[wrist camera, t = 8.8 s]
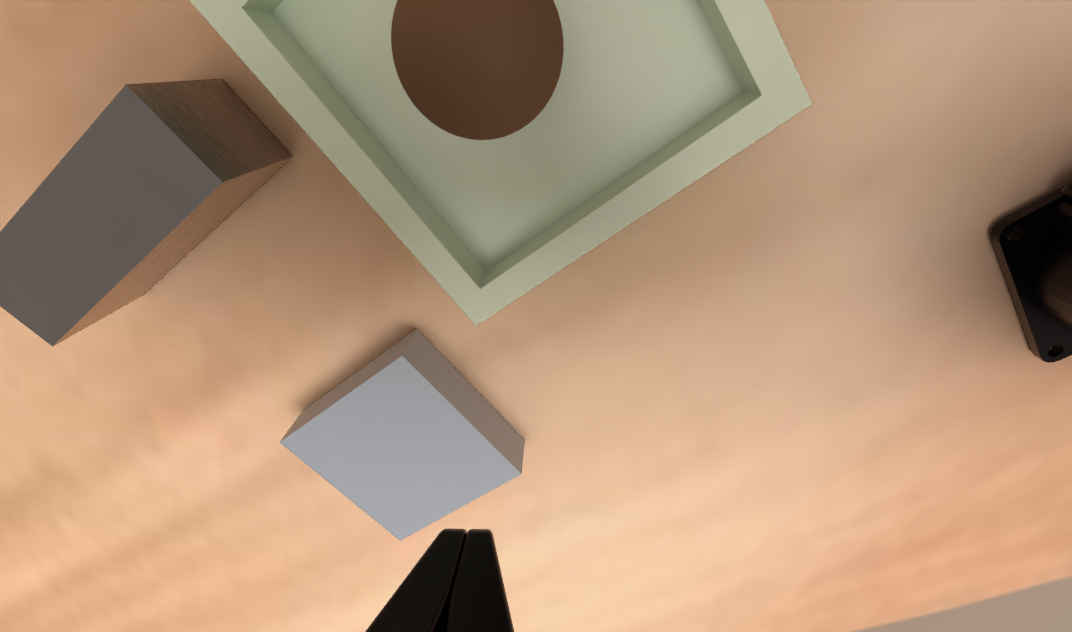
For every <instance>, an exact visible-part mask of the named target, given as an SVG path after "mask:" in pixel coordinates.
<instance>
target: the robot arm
mask: <svg viewBox="0 0 1072 632" xmlns="http://www.w3.org/2000/svg"><path fill="white" fill-rule="evenodd" d="M1014 228H1015V230H1014V232H1013V234H1012V235H1010V236H1009V237H1007V235H1008V234H1009V232H1010V231H1011V230H1012V229H1014ZM990 238H991V242H992V244H993V247H994V250H995V253H996V255H997V258H998V261H999V263H1000V266H1001V269H1002V272H1003V274H1004V277H1005V280H1006V283H1007V285H1008V288H1009V291H1010V294H1011V296H1012V299H1013V302H1014V305H1015V307H1016V310H1017V313H1018V316H1019V318H1020V321H1021V324H1022V326H1023V329H1024V332H1025V335H1026V337H1027V340H1028V343H1029V346H1030V348H1031V351H1032V353H1033V354H1034V355H1035V356H1036V357H1038V358H1040V359H1041V360H1043V361H1045V362H1055V361H1059V360H1061V359H1063V358H1066V357H1068V356H1070V355H1072V182H1070V183H1069V184H1068V185H1066V186H1064V187H1062V188H1060V189H1059V190H1057V191H1055V192H1053V193H1051V194H1049V195H1047V196H1045V197H1043V198H1041V199H1040V200H1038V201H1036V202H1034V203H1032V204H1030V205H1028V206H1026V207H1024V208H1023V209H1021V210H1019V211H1017V212H1015V213H1013V214H1011V215H1009V216H1007V217H1005V218H1004V219H1002V220H1000V221H999V222H998V223H996V225H995V226H994V227H993V228H992V231H991V233H990ZM1050 348H1051V349H1050ZM366 632H514V629H513V624H512V620H511V615H510V611H509V606H508V602H507V597H506V593H505V588H504V584H503V579H502V575H501V570H500V565H499V561H498V556H497V552H496V547H495V543H494V538H493V534H492V532H491V530H488V529H471V530H469V531H468V532H467V531H466V530H465V529H444V530H442V531H441V532H440V533H439V535H438V536H437V537H436V539H435V540H434V541H433V543H432V544H431V545H430V547H429V548H428V549H427V551H426V552H425V553H424V555H423V556H422V557H421V559H420V560H419V561H418V563H417V564H416V565H415V567H414V568H413V569H412V571H411V572H410V573H409V575H408V576H407V577H406V579H405V580H404V581H403V582H402V584H401V585H400V586H399V588H398V589H397V590H396V592H395V593H394V594H393V596H392V597H391V598H390V600H389V601H388V602H387V604H386V605H385V606H384V608H383V609H382V610H381V612H380V613H379V614H378V616H377V617H376V618H375V620H374V621H373V622H372V624H371V625H370V626H369V628H368V629H367V630H366Z"/></svg>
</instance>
